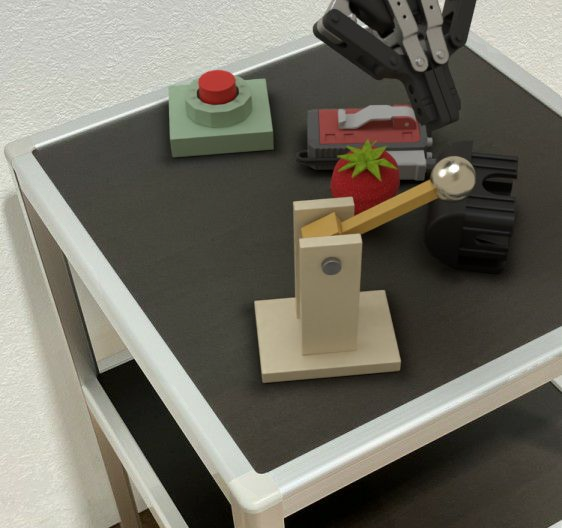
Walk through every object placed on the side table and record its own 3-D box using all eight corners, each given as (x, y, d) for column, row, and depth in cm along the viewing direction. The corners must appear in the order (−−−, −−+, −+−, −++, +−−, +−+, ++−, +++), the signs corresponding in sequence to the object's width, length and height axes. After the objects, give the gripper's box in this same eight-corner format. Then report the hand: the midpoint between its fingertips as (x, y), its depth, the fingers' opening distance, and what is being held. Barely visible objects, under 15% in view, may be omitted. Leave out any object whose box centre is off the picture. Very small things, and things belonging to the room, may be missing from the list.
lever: (477, 170, 69) (461, 139, 67) (487, 199, 67) (471, 168, 65) (317, 246, 73) (297, 219, 71) (322, 276, 71) (302, 249, 69)
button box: (266, 96, 101) (264, 62, 98) (273, 149, 95) (272, 115, 92) (170, 103, 101) (166, 70, 98) (172, 157, 95) (167, 123, 92)
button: (235, 83, 96) (234, 68, 95) (237, 104, 94) (236, 89, 93) (199, 86, 96) (197, 71, 95) (200, 107, 94) (198, 92, 93)
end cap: (431, 195, 90) (438, 135, 85) (508, 203, 89) (520, 143, 84) (420, 269, 84) (427, 209, 79) (502, 278, 83) (515, 219, 78)
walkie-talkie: (296, 186, 92) (508, 182, 91) (295, 148, 88) (515, 144, 88) (295, 130, 97) (495, 126, 97) (294, 92, 94) (501, 88, 93)
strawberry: (403, 207, 89) (411, 116, 82) (385, 262, 85) (393, 171, 77) (341, 197, 91) (343, 106, 83) (320, 250, 86) (321, 159, 78)
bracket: (384, 299, 82) (393, 179, 72) (400, 371, 77) (412, 253, 67) (254, 310, 82) (246, 191, 72) (262, 383, 76) (254, 266, 67)
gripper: (284, -130, 58) (388, 146, 60) (463, -181, 62) (553, 81, 64) (246, -77, 65) (340, 169, 67) (409, -125, 69) (492, 108, 71)
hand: (444, 125), depth 66 cm, fingers closed
